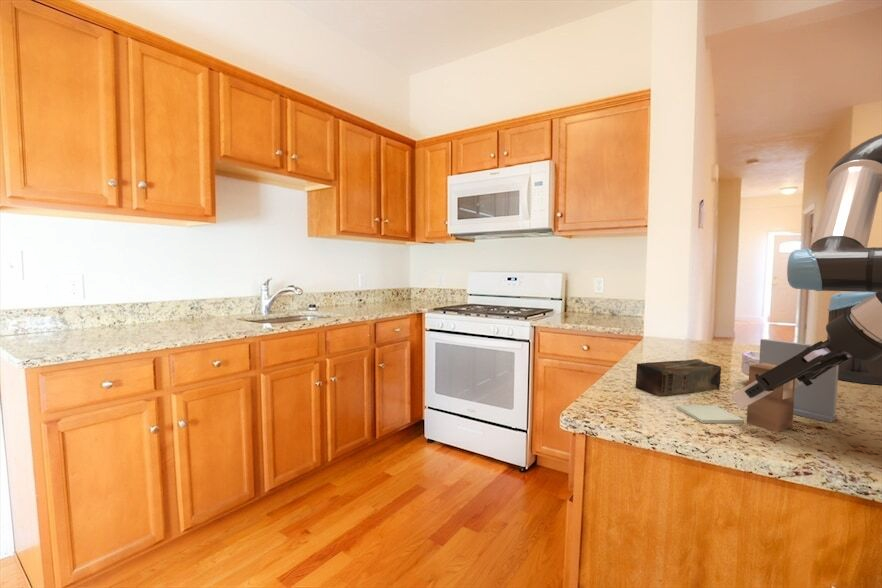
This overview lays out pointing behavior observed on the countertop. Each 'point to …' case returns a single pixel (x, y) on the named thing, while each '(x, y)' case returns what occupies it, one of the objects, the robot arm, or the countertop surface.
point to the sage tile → (709, 414)
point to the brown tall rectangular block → (771, 403)
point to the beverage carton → (677, 377)
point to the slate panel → (807, 399)
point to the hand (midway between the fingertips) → (751, 398)
